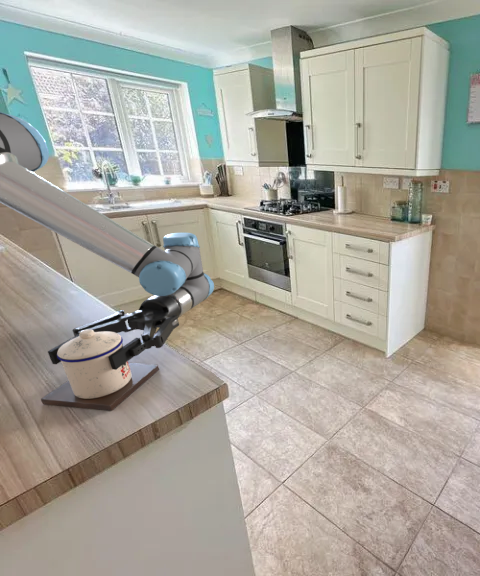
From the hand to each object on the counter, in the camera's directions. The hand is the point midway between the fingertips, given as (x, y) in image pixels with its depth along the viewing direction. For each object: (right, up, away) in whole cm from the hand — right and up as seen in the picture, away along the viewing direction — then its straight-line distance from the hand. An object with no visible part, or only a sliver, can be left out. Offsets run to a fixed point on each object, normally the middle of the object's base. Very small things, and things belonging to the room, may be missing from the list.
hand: (81, 360), depth 59 cm
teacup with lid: (0, -5, +5) cm, 7 cm away
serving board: (0, -6, +5) cm, 8 cm away
